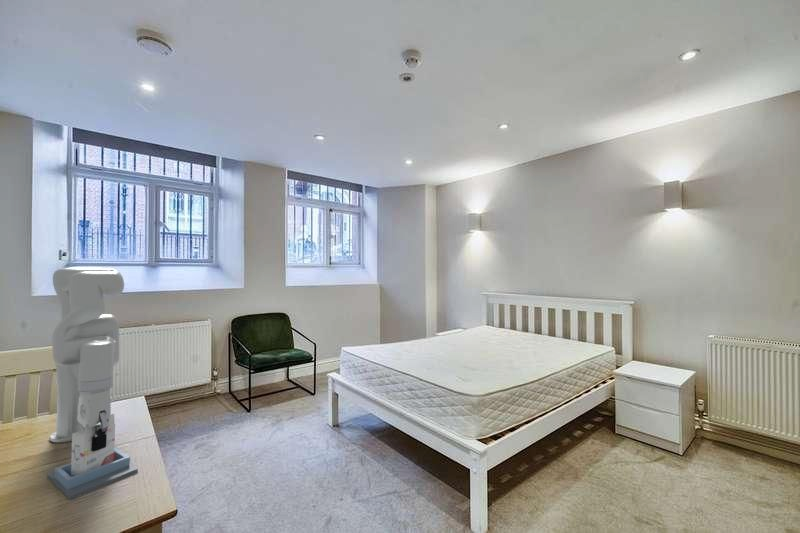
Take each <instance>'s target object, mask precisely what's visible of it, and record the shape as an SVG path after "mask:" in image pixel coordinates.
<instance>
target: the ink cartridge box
mask: <svg viewBox="0 0 800 533" xmlns="http://www.w3.org/2000/svg"><path fill="white" fill-rule="evenodd" d="M99 424H100V422H99V423H97V424H96V425H99ZM108 425H109V427H108V428H107V438H106V447H105V448H103V449H100V450H97V451H94V452H93V451H92V437H94V435H93V427H92V428H90V429H89V428H87V424H86V425H85V429H83V430H81V431H78V432H76V433H73V434H72V441H71V456H70V457H71V462H70V463H71V475H74V476H76V475H79V474H81V473H84V472H87V471H89V470H92V469H95V468H97V467H100V466H103V465H106V464H108V463H111V462H114V448H115V444H116V443H115V440H116V436H115V435H116V423H115V413H112V414H111V415H110V421H109V423H108ZM100 427H101V426H100ZM100 427H97V431H98V429H100Z"/></svg>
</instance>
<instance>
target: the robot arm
mask: <svg viewBox="0 0 800 533" xmlns="http://www.w3.org/2000/svg"><path fill="white" fill-rule="evenodd" d="M52 285H53V289H54V292H55V294H56V296H57V297H58V299H59V302H60V306H61V308H60V309H61V313H60V314H61V317H60V318H61V320H59V321H58V323H57V324H56V326H55V327H54V329H53V332H52V336H51V337H52V338H51V339H52V340H51V342H52V344H51V345H52V359H53V362H54V363H55V364H54V365H55V371H56V376H57V396H56V398H57V399H56V400H57V402H56V427H55V428H56V430H55V431H54V432H53V433H51V434H50V436H49V441H50V442H53V443H68V442H72V434H73V433H76V432H78V431H81V430H83V429H85V425H86V424H87V428H89V429H90V428H92V427H93V435H94V437H92V451H93V452H94V451H97V450H100V449H103V448H105V447H106V438H107V428H108V427H109V425H108V423H109V421H110V415H112V414H111V408H112V407H111V406H112V402H111V389H112V388H114V387H113V386H114V384H113V383H114V367H116V366H117V365H118V363H119V361H120V327H119V326H120V325H119V320H118V318H117V317H116V316H115V315H114V314H108V313H105V312H106V304H105V298H104V297H105V296H119V295H121V294H122V293H123V291H124V289H125V281H124V277H123V275H122V274H121V272H119V271H118V270H117V269H115V268H111V267H110V268H109V267H108V268H105V267H103V268H102V267H64V268H58V269H57V270H55V271H54V272H53V274H52ZM97 423H100V424H99V425H96V424H97ZM100 426H101V427H100ZM97 427H100V429H98V431H97Z"/></svg>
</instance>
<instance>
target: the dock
mask: <svg viewBox="0 0 800 533" xmlns="http://www.w3.org/2000/svg"><path fill="white" fill-rule="evenodd" d="M130 460H131V456H129V455H128V454H127V453H124V451H122V450H120V449H118V448H117V447H114V462H111V463H108V464H106V465H103V466H100V467H97V468H95V469H92V470H89V471H87V472H84V473H81V474H79V475H76V476H74V475H71V462H70V463H68V464H65V465H61V466H59V467H56V468H54V471H52V472H50V473H47V474H46V475H47V479H48V480H49V481H51V483H52V484H53V485H54V486H56V488H57V489H59V491H60V492H62V493H63V495H65V497H66V498H68V499H69V501H70V500H73V499H76V498H78V497H81V496H83V495H87V494H88V493H90V492H93V491H96V490H99V489H100V488H102V487H105V486H108V485H110V484H113V483H115V482H117V481H119V480H122V479H123V478H126V477H129V476H132V475H133V474H137V473H138V472H139V471H138V467H136V466H135V465H133V464H131V461H130Z"/></svg>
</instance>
